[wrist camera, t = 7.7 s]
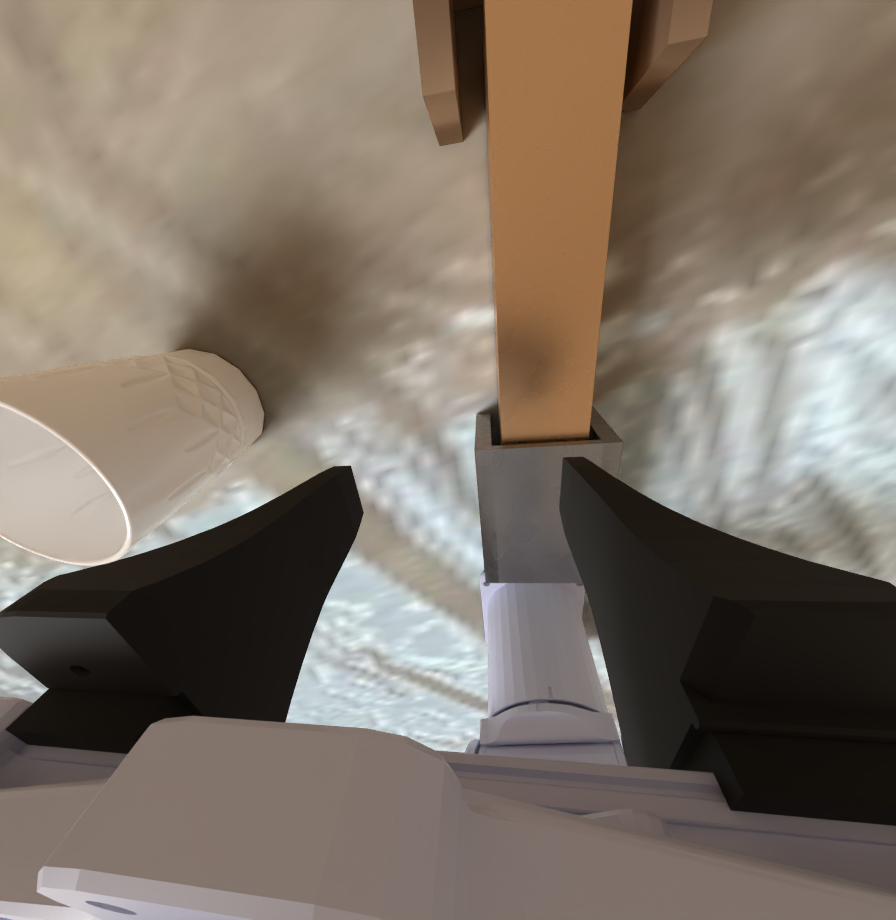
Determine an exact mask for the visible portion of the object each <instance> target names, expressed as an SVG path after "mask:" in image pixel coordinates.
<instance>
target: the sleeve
mask: <svg viewBox="0 0 896 920" xmlns="http://www.w3.org/2000/svg"><path fill="white" fill-rule="evenodd" d="M622 446H623V442H622V440H621V439H620V438H619V437H618V436H617V435H616V433H615V432H614V431H613V430H612V429H611V427H610V426H609V425H608V424H607V423H606V421H605V420H604V419H603V418H602V417H601V416H600V414H599V413H598V412H597V411H596V410H595V408H594V407H593V406H592V410H591V420H590V430H589V440H585V441H568V442H550V443H533V444H516V445H498V446H492V440H491V421H490V413H483V414H477V416H476V433H475V462H476V474H477V486H478V498H479V510H480V522H481V534H482V546H483V558H484V570H485V582H486V583H582V580H581V577H580V575H579V572H578V569H577V567H576V564H575V561H574V559H573V556H572V553H571V551H570V548H569V545H568V542H567V540H566V537H565V534H564V529H563V525H562V520H561V516H560V511H559V503H560V490H561V476H562V462H563V457H582V456H583V457H585V458H586V459H588V460H590V461H591V462H593V463H594V464H596V465H597V466H599V467H600V468H602V469H603V470H605V471H606V472H608V473H609V474H611V475H612V476H614V477H615V478H618V472H619V465H620V459H621V452H622Z"/></svg>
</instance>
